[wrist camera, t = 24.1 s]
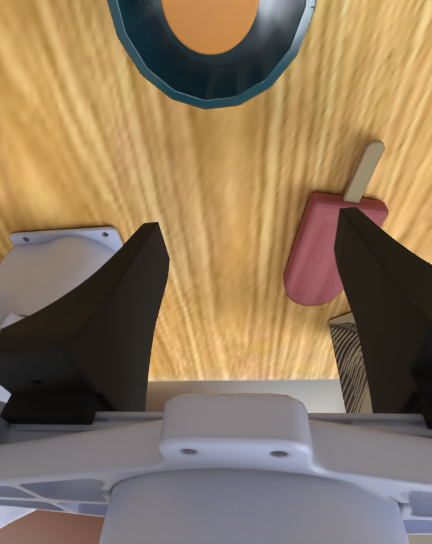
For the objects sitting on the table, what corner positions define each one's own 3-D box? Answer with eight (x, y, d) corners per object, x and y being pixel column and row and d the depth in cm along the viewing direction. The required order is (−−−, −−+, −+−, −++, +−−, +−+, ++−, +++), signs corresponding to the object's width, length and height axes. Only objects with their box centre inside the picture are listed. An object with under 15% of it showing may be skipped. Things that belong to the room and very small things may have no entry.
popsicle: (426, 152, 19) (334, 310, 30) (416, 141, 20) (331, 297, 31) (337, 140, 19) (276, 303, 30) (331, 130, 20) (275, 290, 31)
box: (376, 301, 31) (431, 449, 22) (392, 325, 33) (447, 467, 24) (324, 320, 33) (353, 460, 24) (342, 340, 36) (375, 475, 27)
